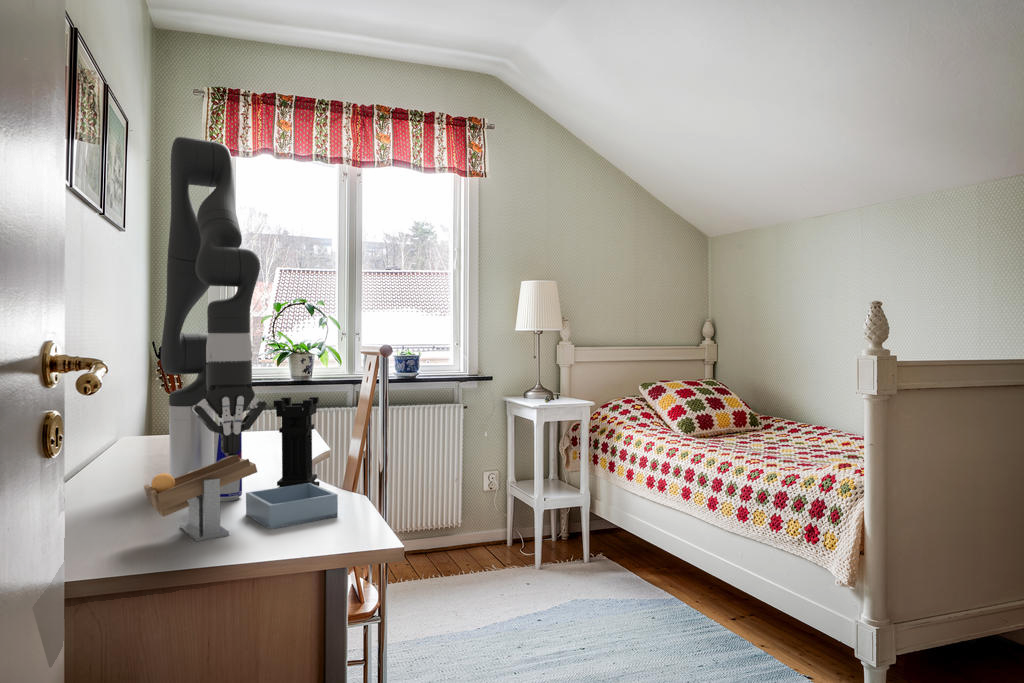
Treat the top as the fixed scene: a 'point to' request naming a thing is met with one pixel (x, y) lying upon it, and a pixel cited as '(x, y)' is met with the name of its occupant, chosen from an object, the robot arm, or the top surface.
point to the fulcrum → (205, 513)
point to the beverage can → (234, 488)
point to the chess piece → (296, 440)
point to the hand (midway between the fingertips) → (230, 455)
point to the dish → (291, 505)
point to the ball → (162, 482)
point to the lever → (198, 483)
